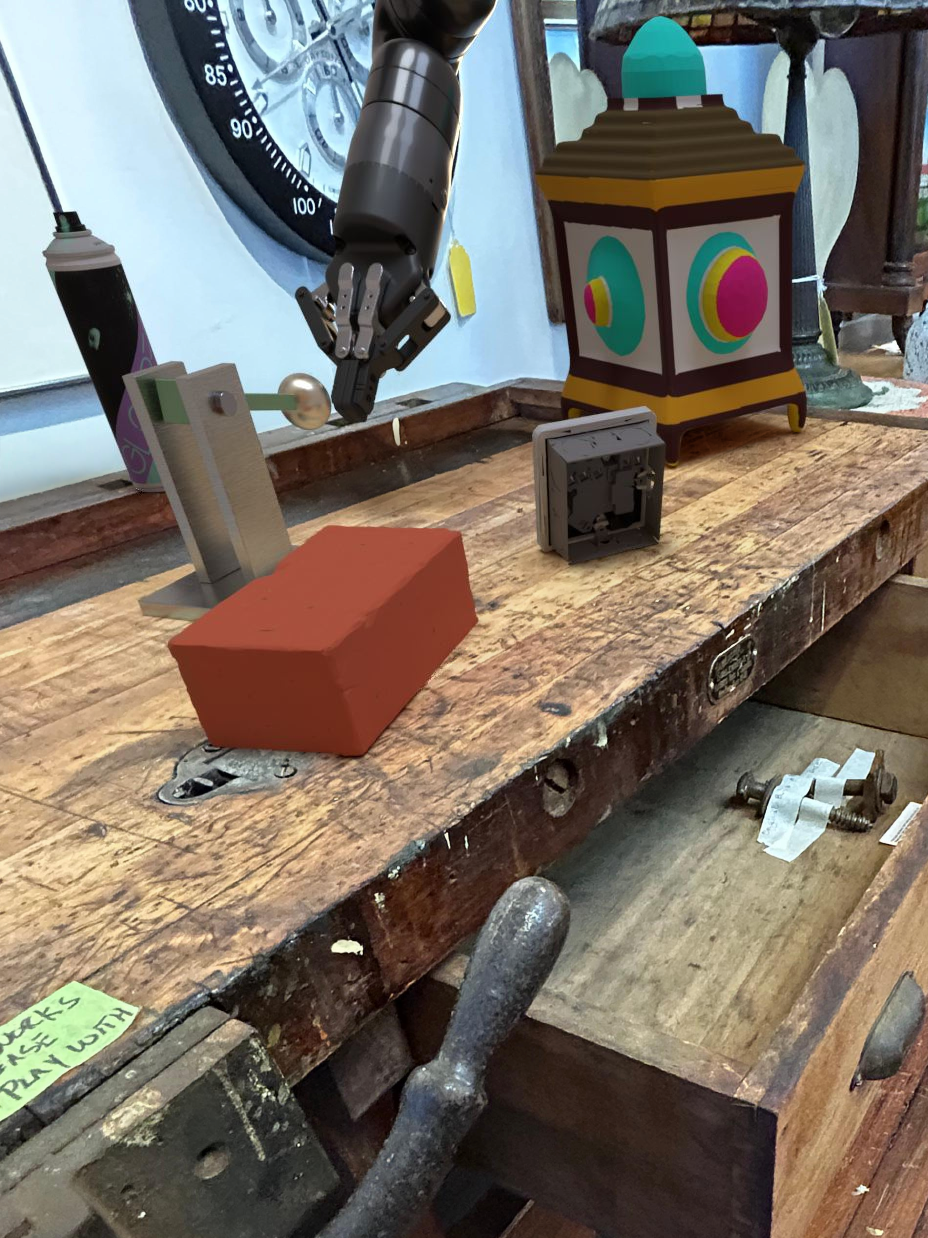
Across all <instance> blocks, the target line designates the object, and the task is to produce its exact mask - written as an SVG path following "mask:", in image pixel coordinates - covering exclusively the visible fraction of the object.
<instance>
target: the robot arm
mask: <svg viewBox="0 0 928 1238" xmlns="http://www.w3.org/2000/svg"><path fill="white" fill-rule="evenodd" d="M497 3H498V0H375V5H374V9H373V18H372V32H371V33H372V34H371V66H370V69H369V72H368V77H367V80H366V84H365V89H364V94H363V98H362V103H361V107H360V108H361V109H360V111H359V112H360V113H359V117H358V121H357V124H356V126H355V127H354V131H353V134H352V137H351V139H350V142H349V147H348V151H347V156H346V160H345V161H346V162H345V164H344V165H345V166H344V171H343V176H342V180H341V184H340V189H339V195H338V199H337V203H336V209H335V213H334V218H333V222H332V237H333V242H334V243H333V244H334V255H333V258H332V259H331V261H330V263H329V264H328V265H327V267H326V269H325V274H324V279H325V281H324V282H323V283H322V284H320V285H319V286H317V287H316V288H315V289H314V290H312V291H310V289H309V288H308V287H307V286H304V285H301V286H299V287H297V289H295V293H294V299H295V301H296V303H297V305H298V307H299V309H300V311H301V314H302V316H303V317H304V320H305V322H306V325H307V326H308V328H309V331H310V333H311V335H312V337H313V339H314V341H315V343H316V345H317V347H318V348H319V350H321V351H322V353H323V354H324V355H325V356H326V357H327V358H328V359H329V360H330V361H331V362H332V363H333V364H334V365H335V366H336V369H335V374H334V378H333V384H332V389H331V393H330V399H331V404H332V405H333V408H334V411H336V413H337V414H339V416H340V417H342V419H344V421H346V422H348V423H367V421H368V417H369V416H370V415H371V414H372V412H373V410H374V408H375V402H376V398H377V392H378V388H379V384H380V379H382V378H384V377H385V376H386V374H387V372H388V371H389V370H392V369H394V370H395V371H396V372H399V373H401V372H405V370H406V369H407V368H408V367H409V366H410V365H411V364H412V363H413V362H414V360H415V359H416V358H417V357H418V356H419V355H420V354H421V353H422V352H423V351H424V350H425V349H426V348H427V346H429V344H430V343H432V341H433V340H434V339H435V338H436V337H437V336H438V334H440V333H441V331H442V330H443V329H444V328H445V327H446V326H447V325H448V324H449V323H450V321H451V319H452V314H451V311H449V309H448V307H447V306H446V304H445V303H444V302H443V300H442V299H441V298H440V296H439V295H438V294H437V293H436V292H435V290H434V289H433V288H432V284H431V280H432V278H433V276H434V274H435V268H436V264H437V259H438V254H439V249H440V245H441V244H440V243H441V240H442V235H443V229H444V226H445V220H446V216H447V212H448V206H449V202H450V195H451V187H452V171H453V164H454V159H455V155H456V150H457V145H458V140H459V136H460V131H461V125H462V120H463V119H462V118H463V111H464V109H463V108H464V106H463V105H464V101H463V97H464V96H463V91H462V87H461V83H460V82H459V79H458V72H459V69H460V66H461V64H462V61H463V58H464V56H465V55H466V53H467V52H468V50H469V49H470V46H472V44H473V43H474V41H475V40H476V38H477V37H478V36H479V34H480V33H481V31H482V30H483V28H484V27H485V25H486V24H487V23H488V21H489V20H490V18H491V16H492V15H493V13H494V11H495V9H496V6H497ZM335 307H336V309H335ZM334 322H335V323H334ZM336 327H337V328H336ZM406 336H408V339H407V340H406V341H405V342H404V343H403V344H402V345H401V346H400V348H399V345H400V343H401V342H402V341H403V340H404V338H405V337H406Z"/></svg>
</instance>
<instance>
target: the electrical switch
mask: <svg viewBox="0 0 928 1238" xmlns="http://www.w3.org/2000/svg"><path fill="white" fill-rule="evenodd" d="M656 426H657V417H656V415H655V414H654V412H652V411H651V410H650V409H648V408H647V407H646V406H642V407H637V408H631V409H625V410H620V411H614V412H609V413H603V414H593V415H587V416H581V418H575V419H570V420H564V421H563V420H559V421H554V422H548V423H542V424H538V425H537V426H536V428H534V430H533V432H532V434H531V437H532V438H531V439H532V440H531V441H532V442H531V443H532V459H533V460H532V461H533V463H532V464H533V481H534V485H533V486H534V503H535V505H534V506H535V527H536V543H537V544H538V546H539V547H540V549H541V551H542V552H543V553H548V552H552V551H555V552H556V554H558V555H560V556H561V557H562V558H563V560H565V561H566V562H567V563H568V565H574V564H578V563H582V562H586V561H590V560H595V559H598V558H602V557H607V556H611V554H612V555H615V554H614V553H616V554H619V553H624V552H626V551H625V550H628V551H632V549H633V550H636V548H637V549H641V548H644V547H643V546H645V547H649V546H653V545H652V544H654V545H657V543H658V544H659V543H660V541H661V526H662V511H663V494H664V478H665V464H666V463H665V462H666V460H665V450H666V444H665V442H664V441H663V440H662V439H661V438H660V436H659V435H658V433H656ZM652 482H653V484H652ZM605 541H608V543H602V542H605ZM623 551H624V552H623ZM569 559H572V560H571V561H569Z"/></svg>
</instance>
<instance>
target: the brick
mask: <svg viewBox="0 0 928 1238" xmlns="http://www.w3.org/2000/svg"><path fill="white" fill-rule="evenodd" d="M298 546H299V547H298V548H297V549H295V550H294V551H292V552H291V553H290V554H288V555H287V556H286V557H285V558H283V559H282V560H281V561H280V562H279V563H278V564H277V566H276V568H275V570H274V573H273V574H271V575H269V576H266V577H261V578H257V579H255V580H253V581H252V582H250V583H249V584H247V585H245V586H244V587H243V588H241V589H240V590H239V591H237V592H236V593H234V594H233V595H231V596H230V597H229V598H227V599H225V600H224V601H222V602H221V603H219V604H218V605H217V606H215V607H214V608H213V609H211V610H210V611H208V612H207V613H206V614H204V615H203V616H202V617H200V618H199V619H197V620H196V621H192V623H190V624H189V625H188V626H186V627H185V628H184V629H182V630H181V631H180V632H179V633H178V634H177V633H176V634H175V635H174V636H172V637H171V638H170V639H169V640H168V642H167V649H168V651H169V653H170V655H171V657H172V659H174V660H175V662H176V663H177V667H178V671H179V674H180V677H181V679H182V681H183V684H184V685H185V687H186V692H187V695H188V696H189V699H190V702H191V705H192V707H193V708H194V710H195V713H196V715H197V718H198V721H199V723H200V725H201V727H202V729H203V731H204V734H205V735H206V738H207V740H208V743H209V744H211V746H213V747H215V748H230V749H231V748H233V749H246V750H247V749H248V750H264V751H265V750H266V751H284V752H285V751H289V752H299V753H315V754H316V753H321V754H336V755H340V756H344V757H351V756H356V757H357V756H358V757H359V756H362V755H364V754H365V753H367V751H368V750H369V748H370V747H371V746H372V745H373V744H374V743H375V742H376V740H377V739H378V737H379V736H380V735H381V734H382V733H383V732H384V731H385V729H386V728H387V727H388V726H389V725H390V724H391V723H392V722H393V720H394V719H396V717H397V716H398V714H399V713H400V712H401V711H402V710H403V709H404V707H405V706H406V705H407V704H408V703H409V702H410V700H411V699H412V698H413V697H414V696H415V695H416V694H417V692H419V691H420V689H421V688H423V687H424V686H425V685H426V684H427V683H428V681H429V680H430V679H431V678H432V676H433V674H434V673H435V672H436V671H437V670H438V668H439V667H440V666H441V665H442V664H443V662H444V661H446V659H447V658H448V657H449V655H451V653H452V652H453V651H454V650H455V649H456V648H457V647H458V646H459V644H460V643H461V642H462V641H463V640H464V639H465V638H466V637H467V636H468V634H470V632H471V631H472V629H473V628H474V627H475V626H476V625H478V622H479V621H480V620H479V617H478V616H477V612H476V603H475V601H474V596H473V592H472V589H471V582H470V571H469V566H468V560H467V557H466V556H467V555H466V550H465V547H464V541H463V533H462V532H461V531H459V530H451V529H448V528H446V527H402V526H401V527H391V526H390V527H389V526H371V525H370V526H369V525H368V526H347V525H340V524H330V525H326V526H323V527H322V528H320V530H317V532H316V533H314V534H312V535H311V536H310V537H309V538H307V540H306V541H305V542H304V543H302V544H301V545H298Z"/></svg>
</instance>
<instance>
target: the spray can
mask: <svg viewBox="0 0 928 1238" xmlns="http://www.w3.org/2000/svg"><path fill="white" fill-rule="evenodd" d="M52 215H53V218H54V221H55V224H56V226H54V229H55V231H52V236H53V237H54V238H53V239H52V240H51V241H50V243H49V244H48V246H47V247H46V248H45V249H44V250H42V252H41V253H42V257H44V258H45V267H46V270H47V272H48V274H49V277H50V279H51V282H52V285H53V287H54V289H55V292H56V295H57V297H58V299H59V302H60V306H61V307H62V310H63V312H64V315H65V317H66V320H67V322H68V325H69V327H70V330H71V333H72V335H73V337H74V340H75V343H76V345H77V348H78V350H79V352H80V355H81V358H82V361H83V363H84V366H85V367H86V371H87V373H88V375H89V377H90V380H91V383H92V385H93V388H94V390H95V393H96V396H97V398H98V400H99V403H100V405H101V408H102V411H103V413H104V415H105V418H106V420H107V423H108V426H109V428H110V430H111V433H112V435H113V438H114V440H115V443H116V445H117V448H118V450H119V454H120V456H121V458H122V461H123V463H124V466H125V469H126V471H127V473H128V476H129V478H130V481H131V483H132V485H133V488H134V487H135V488H137V489H139V490H141V491H142V493H162V492H164V493H165V492H166V491H165V489H164V486H163V483H162V481H161V478H160V476H159V473H158V470H157V468H156V465H155V462H154V460H153V457H152V454H151V452H150V449H149V447H148V444H147V441H146V439H145V436H144V433H143V431H142V428H141V425H140V423H139V420H138V418H137V415H136V412H135V410H134V407H133V404H132V402H131V399H130V396H129V394H128V391H127V388H126V386H125V383H124V381H123V378H122V376H123V375H127V374H130V373H133V372H137V371H140V370H143V369H147V368H150V367H153V366H156V365H159V364H158V362H157V361H158V360H157V359H156V356H155V353H154V351H153V348H152V345H151V344H152V343H151V342H150V339H149V336H148V334H147V330H146V328H145V324H144V322H143V319H142V317H141V314H140V311H139V308H138V305H137V303H136V300H135V297H134V294H133V291H132V288H131V286H130V283H129V280H128V277H127V275H126V272H125V269H124V266H123V264H122V261H121V258H120V257H119V256H118V255H117V253H116V247H115V245H113V244H109V243H108V242H106V241H104V240H103V239H101V238H99V237H97V236H96V235H93V231H92V229H90V228H87V226H86V224H83V223H82V221H81V219H80V216H79V214H78V211H76V210H74V211H73V210H72V211H53V212H52ZM135 488H134V489H135ZM141 491H140V492H141Z"/></svg>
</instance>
